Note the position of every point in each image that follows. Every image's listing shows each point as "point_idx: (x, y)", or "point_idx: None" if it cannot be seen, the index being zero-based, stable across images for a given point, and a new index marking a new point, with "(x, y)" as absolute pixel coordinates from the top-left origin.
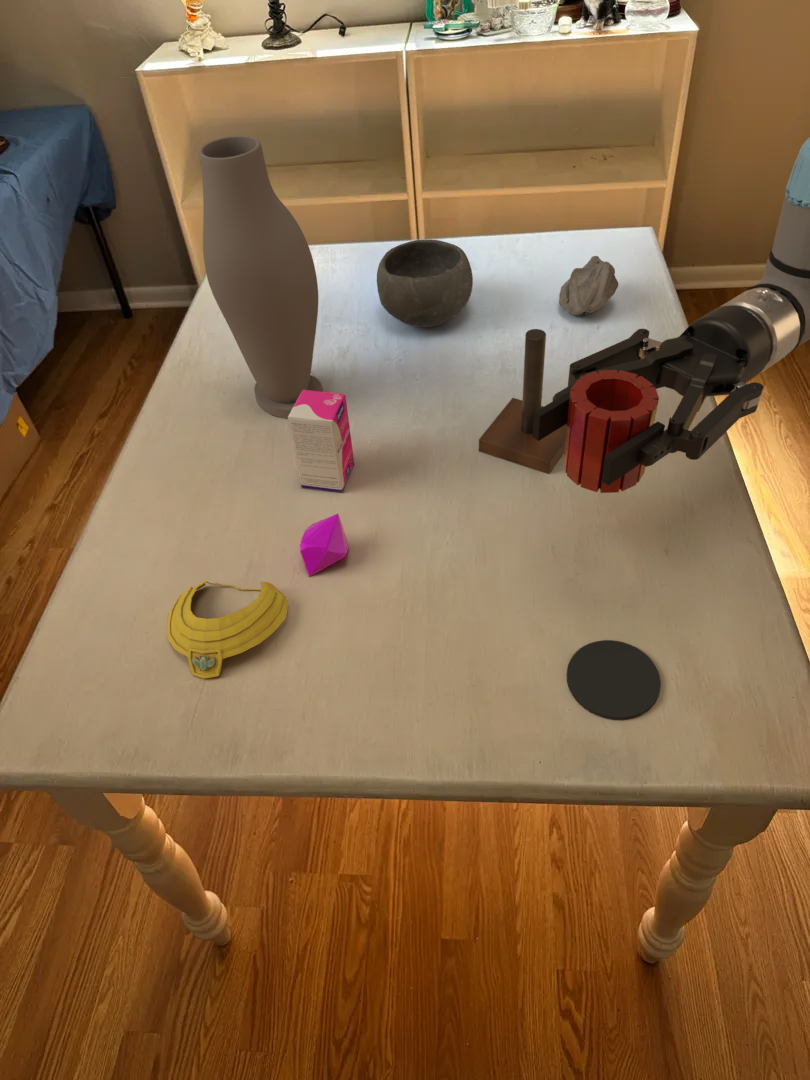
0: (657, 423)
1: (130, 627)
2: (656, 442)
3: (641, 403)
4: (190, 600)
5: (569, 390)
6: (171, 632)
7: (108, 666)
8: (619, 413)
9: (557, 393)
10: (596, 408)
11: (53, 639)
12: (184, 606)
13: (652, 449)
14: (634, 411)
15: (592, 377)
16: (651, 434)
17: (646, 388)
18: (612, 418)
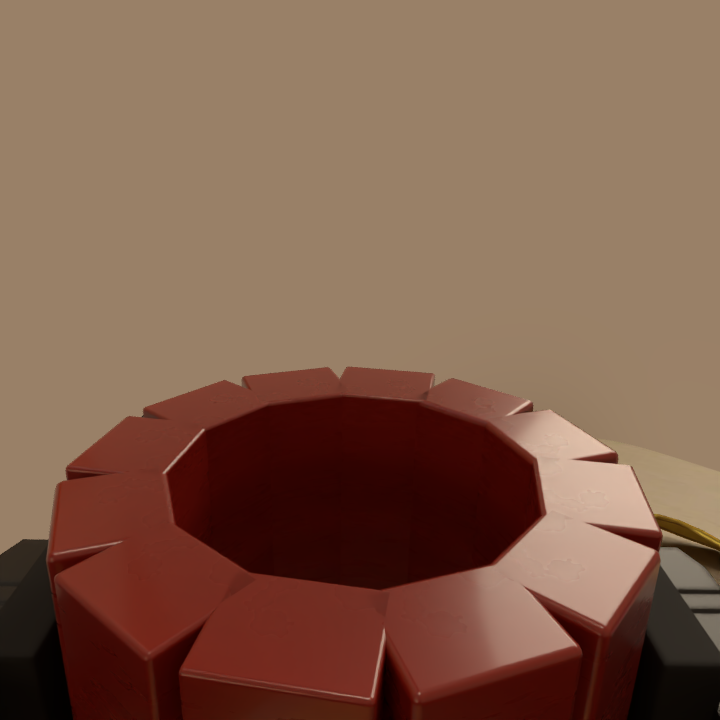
0: (27, 635)
1: (707, 520)
2: (1, 606)
3: (153, 488)
4: (713, 541)
5: (714, 626)
6: (668, 526)
7: (648, 494)
8: (221, 408)
9: (705, 574)
10: (334, 386)
11: (713, 477)
12: (703, 534)
13: (11, 568)
14: (156, 437)
15: (588, 487)
16: (37, 564)
17: (206, 594)
18: (228, 385)
